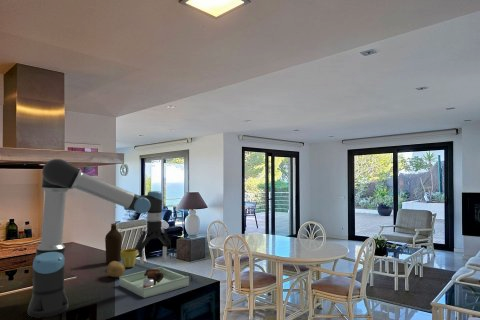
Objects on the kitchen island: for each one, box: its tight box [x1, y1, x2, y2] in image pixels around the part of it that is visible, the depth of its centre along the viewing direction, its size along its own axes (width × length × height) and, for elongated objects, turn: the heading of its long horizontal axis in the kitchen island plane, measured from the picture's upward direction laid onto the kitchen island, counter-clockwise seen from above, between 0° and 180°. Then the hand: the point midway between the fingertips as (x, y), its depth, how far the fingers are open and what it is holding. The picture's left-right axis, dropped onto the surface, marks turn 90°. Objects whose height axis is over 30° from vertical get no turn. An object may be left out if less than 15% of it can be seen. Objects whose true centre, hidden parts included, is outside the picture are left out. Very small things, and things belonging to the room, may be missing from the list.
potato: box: [106, 261, 126, 278], centre depth 192 cm, size 10×14×8 cm
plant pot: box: [121, 248, 138, 268], centre depth 214 cm, size 10×10×10 cm
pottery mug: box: [144, 268, 164, 285], centre depth 178 cm, size 12×9×8 cm
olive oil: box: [104, 222, 123, 264], centre depth 225 cm, size 11×11×25 cm
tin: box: [143, 279, 154, 288], centre depth 165 cm, size 5×5×6 cm
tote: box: [118, 266, 190, 299], centre depth 177 cm, size 26×26×5 cm
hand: (153, 261), depth 177 cm, fingers open, 13 cm apart
